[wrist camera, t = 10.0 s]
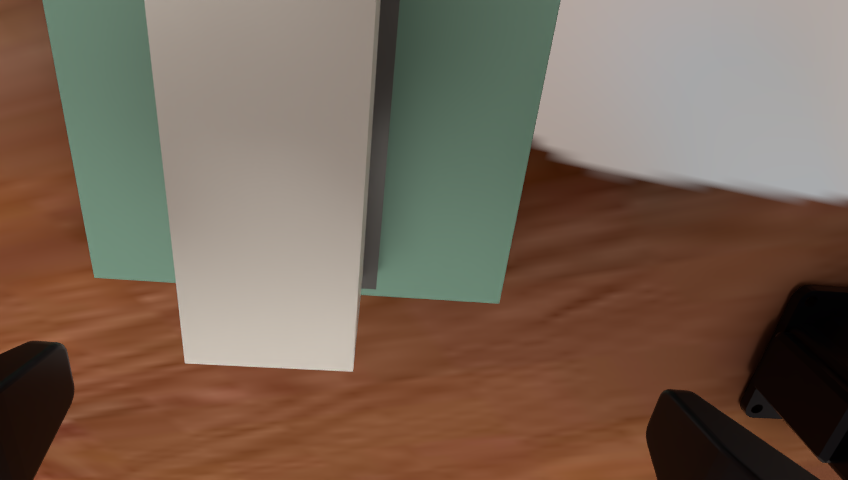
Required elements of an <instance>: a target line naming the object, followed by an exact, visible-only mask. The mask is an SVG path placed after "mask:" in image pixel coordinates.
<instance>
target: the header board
mask: <svg viewBox="0 0 848 480" xmlns="http://www.w3.org/2000/svg"><path fill="white" fill-rule="evenodd" d="M42 1H43V6H44V11H45V17H46V22H47V27H48V33H49V38H50V43H51V49H52V54H53V59H54V65H55V70H56V75H57V81H58V86H59V91H60V97H61V102H62V107H63V113H64V118H65V123H66V129H67V134H68V139H69V145H70V150H71V155H72V161H73V166H74V171H75V177H76V182H77V187H78V193H79V198H80V203H81V209H82V214H83V219H84V225H85V230H86V235H87V241H88V246H89V251H90V257H91V262H92V267H93V273H94V278H108V279H124V280H139V281H155V282H170V283H176V279H175V270H174V261H173V252H172V243H171V234H170V226H169V217H168V208H167V199H166V190H165V181H164V172H163V163H162V154H161V145H160V136H159V128H158V119H157V110H156V101H155V92H154V83H153V74H152V65H151V56H150V47H149V38H148V30H147V21H146V12H145V3H144V0H42ZM559 5H560V0H381V3H380V18H379V33H378V48H377V64H376V79H375V94H374V109H373V125H372V140H371V155H370V170H369V185H368V201H367V216H366V231H365V246H364V261H363V277H362V287H361V295H373V296H389V297H404V298H420V299H435V300H451V301H467V302H482V303H498V304H499V301H500V297H501V292H502V287H503V282H504V277H505V272H506V267H507V262H508V257H509V252H510V247H511V242H512V237H513V232H514V227H515V222H516V218H517V213H518V208H519V203H520V198H521V193H522V188H523V183H524V178H525V173H526V168H527V163H528V158H529V153H530V148H531V143H532V139H533V134H534V129H535V124H536V119H537V114H538V109H539V104H540V99H541V94H542V89H543V84H544V79H545V74H546V69H547V64H548V59H549V55H550V49H551V45H552V40H553V35H554V30H555V25H556V20H557V15H558V10H559Z"/></svg>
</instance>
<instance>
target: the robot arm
mask: <svg viewBox="0 0 848 480" xmlns="http://www.w3.org/2000/svg"><path fill="white" fill-rule="evenodd" d="M807 298H809V299H807ZM806 299H807V300H806ZM73 396H74V383H73V378H72V373H71V368H70V363H69V358H68V353H67V350H66V348H65V346H64V345H63V344H61V343H58V342H46V341H29V342H27V343H24V344H22V345H20V346H17V347H15V348H13V349H11V350H8V351H6V352H4V353H2V354H0V480H33V479H34V477H35V475H36V473H37V471H38V469H39V467H40V465H41V463H42V461H43V459H44V457H45V455H46V453H47V451H48V449H49V447H50V445H51V443H52V441H53V439H54V437H55V435H56V433H57V431H58V429H59V427H60V425H61V423H62V421H63V419H64V417H65V415H66V413H67V411H68V409H69V407H70V405H71V403H72V400H73ZM740 407H741V409H742V410H743V411H744V412H745V414H746V415H747V416H749V417H752V418H773V419H783V420H784V421H785V422H786V423H787V424H788V425H789V426H790V428H791V429H792V430H793V431H794V432H795V433H796V434H797V436H798V437H799V438H800V439H801V440H802V441H803V442H804V444H805V445H806V446H807V447H808V448H809V449H810V450H811V452H812V453H813V454H814V455H815V456H816V457H817V458H818V460H820V461H821V462H823V463H828V464H829V465H830V466H831V468H832V469H833V470H834V471H835V472H836V473H837V474H838V475H839V477H840V478H841V479H842V480H848V288H845V287H831V286H817V285H805V286H802V287H800V288H799V289H797V290H796V291H795V292H794V294H793V295H792V297H791V299H790V301H789V303H788V305H787V307H786V310H785V312H784V314H783V316H782V318H781V320H780V322H779V324H778V326H777V328H776V330H775V332H774V334H773V336H772V338H771V340H770V343H769V345H768V347H767V349H766V351H765V353H764V355H763V357H762V359H761V361H760V363H759V365H758V367H757V369H756V371H755V373H754V376H753V378H752V380H751V382H750V384H749V386H748V388H747V390H746V392H745V394H744V396H743V398H742V400H741V403H740ZM646 440H647V445H648V449H649V452H650V456H651V459H652V463H653V466H654V470H655V473H656V477H657V480H820V479H818V478H817V477H815V476H814V475H812V474H811V473H810V472H808V471H807V470H805V469H804V468H802V467H801V466H799V465H798V464H796V463H795V462H794V461H792V460H791V459H789V458H788V457H786V456H785V455H783V454H782V453H781V452H779V451H778V450H776V449H775V448H773V447H772V446H770V445H769V444H767V443H766V442H765V441H763V440H762V439H760V438H759V437H757V436H756V435H754V434H753V433H752V432H750V431H749V430H747V429H746V428H744V427H743V426H741V425H740V424H739V423H737V422H736V421H734V420H733V419H731V418H730V417H728V416H727V415H725V414H724V413H723V412H721V411H720V410H718V409H717V408H715V407H714V406H712V405H711V404H710V403H708V402H707V401H705V400H704V399H702V398H701V397H699V396H698V395H696V394H695V393H693V392H691V391H686V390H673V389H668V390H665V391H663V392H662V393H661V395H660V397H659V399H658V401H657V404H656V406H655V409H654V411H653V414H652V416H651V418H650V421H649V423H648V426H647V430H646Z"/></svg>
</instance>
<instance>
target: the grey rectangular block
mask: <svg viewBox="0 0 848 480" xmlns="http://www.w3.org/2000/svg"><path fill="white" fill-rule="evenodd" d="M144 3H145V12H146V21H147V30H148V38H149V47H150V56H151V65H152V74H153V83H154V92H155V101H156V110H157V119H158V128H159V136H160V145H161V154H162V163H163V172H164V181H165V190H166V199H167V208H168V217H169V226H170V234H171V243H172V252H173V261H174V270H175V279H176V288H177V297H178V306H179V315H180V324H181V332H182V341H183V350H184V359H185V363H189V364H210V365H230V366H250V367H270V368H291V369H311V370H331V371H352V372H353V367H354V357H355V347H356V337H357V327H358V317H359V307H360V297H361V287H362V277H363V261H364V246H365V231H366V216H367V201H368V185H369V170H370V155H371V140H372V125H373V109H374V94H375V79H376V64H377V48H378V33H379V18H380V3H381V0H144Z"/></svg>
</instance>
